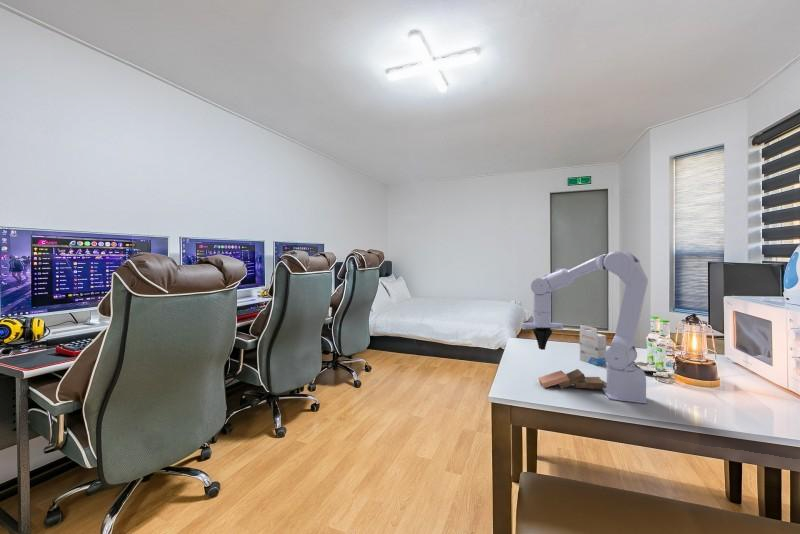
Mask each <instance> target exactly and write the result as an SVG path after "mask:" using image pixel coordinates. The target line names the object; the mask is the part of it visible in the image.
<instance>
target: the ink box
mask: <svg viewBox="0 0 800 534" xmlns="http://www.w3.org/2000/svg"><path fill="white" fill-rule="evenodd" d="M579 327H580V328H579V361H582V362H585V363H588V364H591V365H594V366H596V367H600V366H604V365H606V366H607V362H606V360H605V352H606V351H607V335H605V334H601V333H598V330H599V329H598V328H596V327H593V326H587V325H584V324H583V325H582V324H580V326H579Z"/></svg>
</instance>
